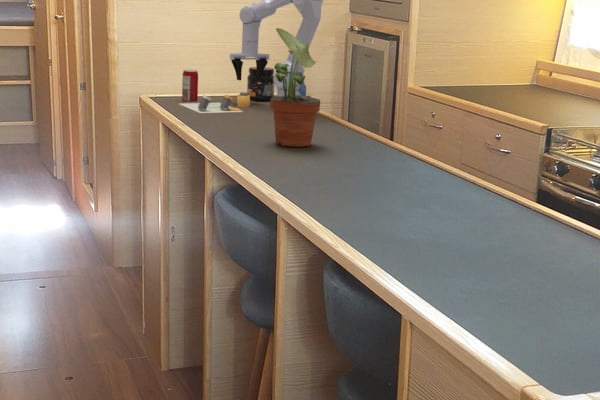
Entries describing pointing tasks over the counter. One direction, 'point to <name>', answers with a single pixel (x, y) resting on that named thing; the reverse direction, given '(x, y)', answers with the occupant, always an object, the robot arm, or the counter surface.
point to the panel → (210, 108)
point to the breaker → (204, 103)
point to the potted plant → (294, 99)
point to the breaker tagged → (226, 102)
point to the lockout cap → (243, 100)
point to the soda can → (190, 86)
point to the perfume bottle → (302, 89)
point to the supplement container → (260, 85)
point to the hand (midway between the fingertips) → (248, 80)
